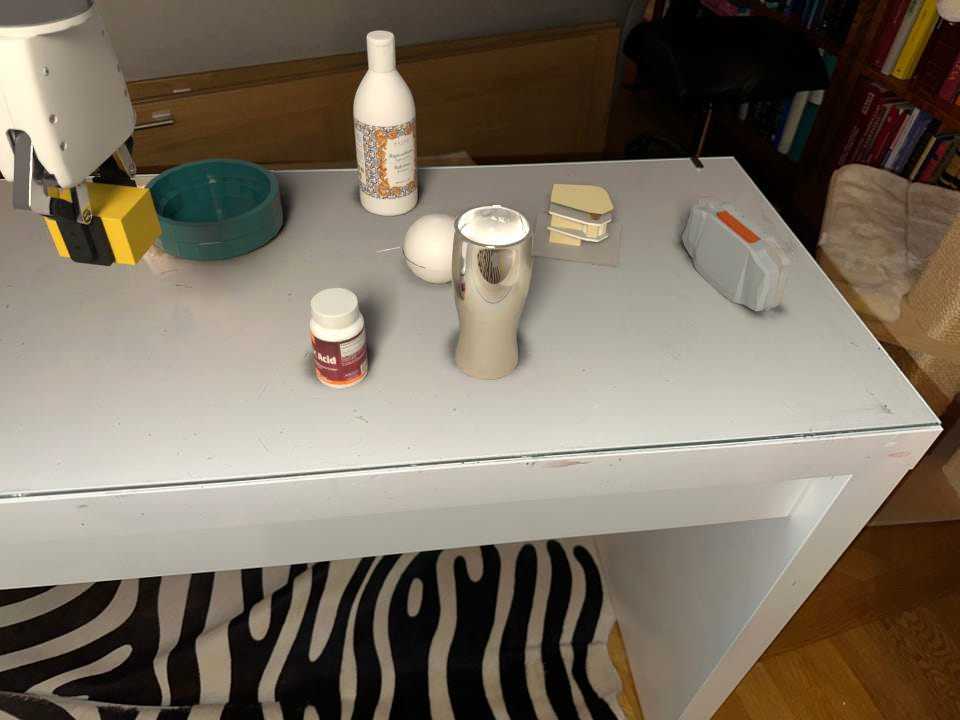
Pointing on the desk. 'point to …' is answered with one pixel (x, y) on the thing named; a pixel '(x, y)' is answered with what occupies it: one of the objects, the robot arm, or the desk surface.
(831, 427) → the desk surface
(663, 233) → the desk surface
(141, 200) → the sponge
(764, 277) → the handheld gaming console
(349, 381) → the pill bottle
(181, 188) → the bowl
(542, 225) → the stacked layers on plate
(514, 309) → the beer glass
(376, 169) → the bath foam
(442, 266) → the lollipop
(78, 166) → the robot arm
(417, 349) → the desk surface
